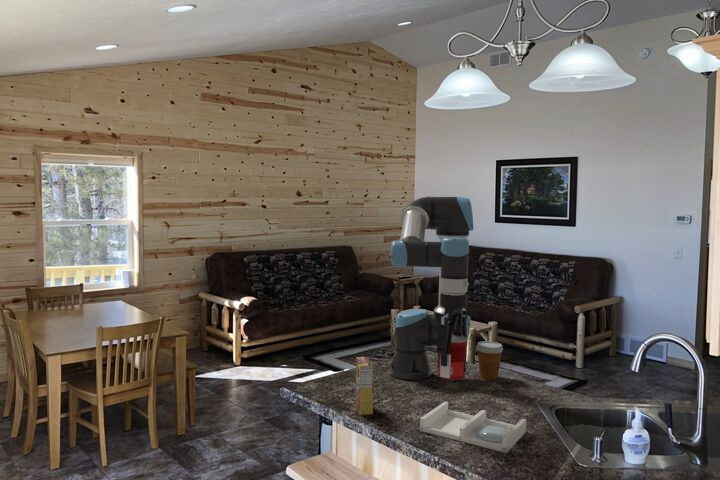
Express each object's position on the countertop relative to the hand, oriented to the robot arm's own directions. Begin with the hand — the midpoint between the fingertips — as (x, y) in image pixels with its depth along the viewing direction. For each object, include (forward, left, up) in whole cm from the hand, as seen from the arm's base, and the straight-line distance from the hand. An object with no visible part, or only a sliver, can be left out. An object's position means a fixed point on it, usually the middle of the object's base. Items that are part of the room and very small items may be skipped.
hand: (451, 373), depth 170 cm
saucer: (0, +13, -15) cm, 20 cm away
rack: (0, +7, -16) cm, 17 cm away
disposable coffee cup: (-52, -8, -16) cm, 55 cm away
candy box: (+1, -28, -16) cm, 32 cm away
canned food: (0, 0, -1) cm, 1 cm away
